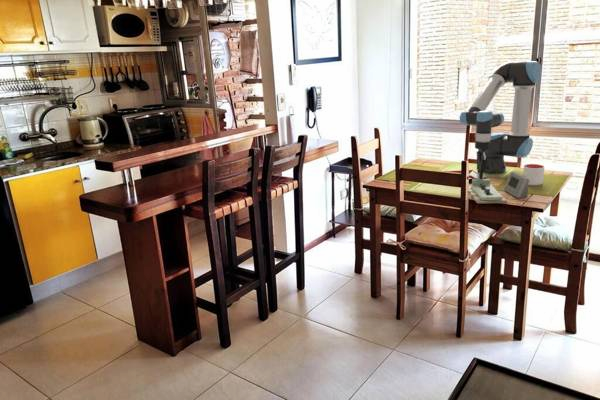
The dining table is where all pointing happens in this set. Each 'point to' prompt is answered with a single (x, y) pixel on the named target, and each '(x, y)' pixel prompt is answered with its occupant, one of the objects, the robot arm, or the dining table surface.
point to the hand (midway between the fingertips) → (479, 183)
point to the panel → (481, 193)
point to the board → (486, 194)
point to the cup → (534, 174)
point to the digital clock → (517, 185)
